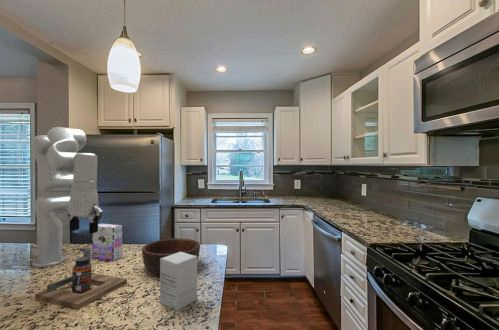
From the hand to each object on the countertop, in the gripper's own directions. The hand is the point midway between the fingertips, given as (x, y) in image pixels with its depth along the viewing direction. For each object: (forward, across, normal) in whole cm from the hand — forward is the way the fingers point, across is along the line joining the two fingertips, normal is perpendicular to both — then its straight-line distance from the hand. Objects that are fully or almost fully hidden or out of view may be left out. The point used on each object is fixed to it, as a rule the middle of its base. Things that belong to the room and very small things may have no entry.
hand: (83, 231), depth 97 cm
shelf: (+21, +3, -2) cm, 21 cm away
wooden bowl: (+21, +20, +28) cm, 40 cm away
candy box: (+22, -18, +27) cm, 39 cm away
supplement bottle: (+21, +2, -2) cm, 21 cm away
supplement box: (+20, +40, +4) cm, 45 cm away
